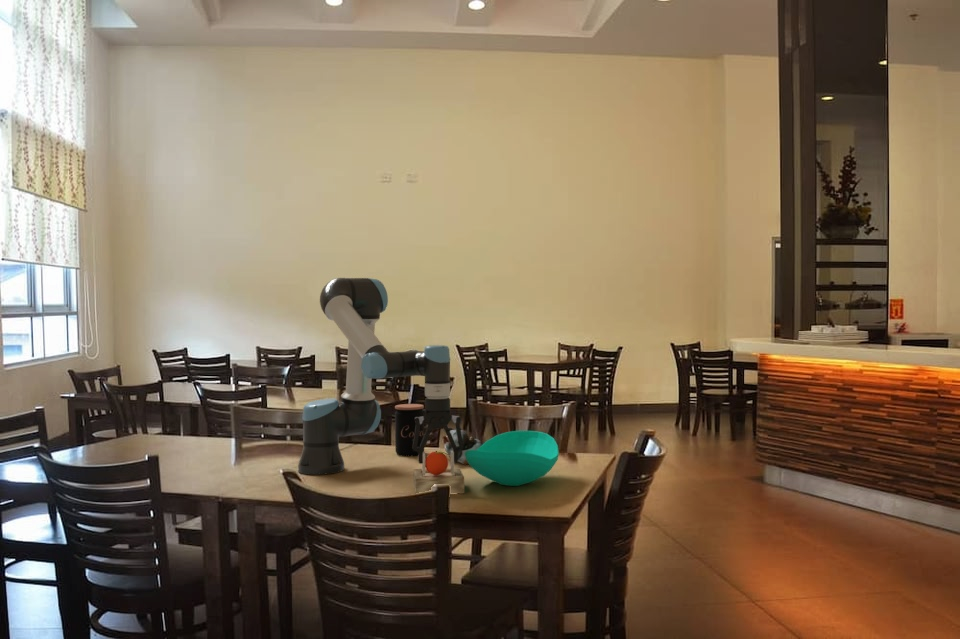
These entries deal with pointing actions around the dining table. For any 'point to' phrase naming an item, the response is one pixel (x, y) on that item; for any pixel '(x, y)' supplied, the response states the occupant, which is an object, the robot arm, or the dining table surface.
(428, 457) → the clementine
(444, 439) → the grey sculpted piece
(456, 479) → the tray
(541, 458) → the table top decor
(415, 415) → the coffee jar
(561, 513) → the dining table surface
